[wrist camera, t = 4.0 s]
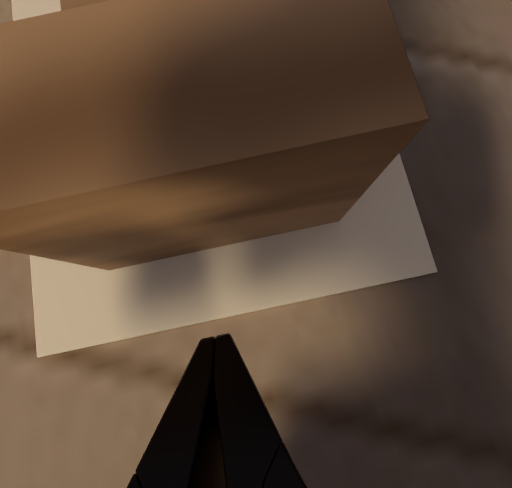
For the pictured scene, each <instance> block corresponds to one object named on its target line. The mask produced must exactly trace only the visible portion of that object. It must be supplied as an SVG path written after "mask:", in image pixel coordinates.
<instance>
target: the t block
mask: <svg viewBox="0 0 512 488" xmlns="http://www.w3.org/2000/svg"><path fill="white" fill-rule="evenodd" d="M60 5H61V11H58V12H53V13H48V14H44V15H39V16H34V17H30V18H25V19H20V20H16V21H11V22H6V23H2V24H0V249H2V250H7V251H12V252H18V253H23V254H28V255H33V256H38V257H43V258H48V259H53V260H58V261H63V262H68V263H73V264H79V265H84V266H89V267H94V268H99V269H104V270H113V269H118V268H123V267H127V266H132V265H137V264H141V263H146V262H151V261H155V260H160V259H165V258H169V257H174V256H179V255H183V254H188V253H193V252H197V251H202V250H207V249H211V248H216V247H221V246H225V245H230V244H235V243H239V242H244V241H249V240H253V239H258V238H263V237H267V236H272V235H277V234H281V233H286V232H291V231H295V230H300V229H305V228H309V227H314V226H319V225H324V224H328V223H333V222H338V221H340V220H341V219H342V218H343V216H344V215H345V214H346V213H347V212H348V211H349V210H350V208H351V207H352V206H353V205H354V204H355V203H356V202H357V200H358V199H359V198H360V197H361V196H362V195H363V194H364V193H365V191H366V190H367V189H368V188H369V187H370V186H371V185H372V183H373V182H374V181H375V180H376V179H377V178H378V177H379V175H380V174H381V173H382V172H383V171H384V170H385V169H386V167H387V166H388V165H389V164H390V163H391V162H392V161H393V159H394V158H395V157H396V156H397V155H398V154H399V153H400V151H401V150H402V149H403V148H404V147H405V146H406V145H407V143H408V142H409V141H410V140H411V139H412V138H413V137H414V135H415V134H416V133H417V132H418V131H419V130H420V129H421V127H422V126H423V125H424V124H425V123H426V122H427V121H428V119H429V117H428V114H427V111H426V108H425V105H424V103H423V100H422V97H421V94H420V91H419V88H418V85H417V83H416V80H415V77H414V74H413V71H412V68H411V65H410V63H409V60H408V57H407V54H406V51H405V48H404V45H403V43H402V40H401V37H400V34H399V31H398V28H397V25H396V23H395V20H394V17H393V14H392V11H391V8H390V5H389V3H388V0H60Z"/></svg>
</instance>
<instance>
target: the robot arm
mask: <svg viewBox="0 0 512 488" xmlns="http://www.w3.org/2000/svg"><path fill="white" fill-rule="evenodd" d="M127 488H307V486H306V485H305V483H304V481H303V479H302V478H301V476H300V474H299V472H298V470H297V468H296V466H295V464H294V462H293V461H292V459H291V457H290V455H289V453H288V451H287V448H286V446H285V444H284V443H283V442H282V439H281V437H280V435H279V433H278V430H277V428H276V426H275V424H274V422H273V420H272V418H271V416H270V414H269V412H268V410H267V408H266V406H265V404H264V402H263V400H262V398H261V396H260V394H259V392H258V390H257V388H256V385H255V383H254V381H253V379H252V377H251V375H250V373H249V371H248V369H247V367H246V365H245V363H244V361H243V359H242V357H241V355H240V353H239V351H238V349H237V347H236V345H235V343H234V341H233V338H232V336H231V335H230V334H229V333H227V334H222V335H218V336H216V338H215V337H208V338H203V339H201V340H200V342H199V344H198V346H197V348H196V350H195V352H194V354H193V356H192V358H191V360H190V362H189V364H188V366H187V368H186V370H185V372H184V374H183V376H182V378H181V380H180V382H179V384H178V386H177V388H176V390H175V392H174V394H173V396H172V398H171V400H170V402H169V404H168V406H167V408H166V410H165V412H164V414H163V416H162V418H161V420H160V422H159V424H158V426H157V428H156V430H155V432H154V434H153V436H152V438H151V440H150V442H149V444H148V446H147V448H146V450H145V452H144V454H143V456H142V458H141V461H140V463H139V465H138V467H137V469H136V474H134V475H133V476H132V478H131V480H130V482H129V484H128V486H127Z"/></svg>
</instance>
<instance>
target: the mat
mask: <svg viewBox="0 0 512 488" xmlns="http://www.w3.org/2000/svg"><path fill="white" fill-rule="evenodd" d="M58 11H61V5H60V0H12V14H13V21H16V20H20V19H25V18H30V17H34V16H39V15H44V14H48V13H53V12H58ZM30 265H31V279H32V293H33V307H34V321H35V334H36V348H37V358H38V357H43V356H47V355H52V354H57V353H62V352H66V351H71V350H76V349H80V348H85V347H90V346H94V345H99V344H104V343H108V342H113V341H118V340H122V339H127V338H132V337H136V336H141V335H146V334H150V333H155V332H160V331H164V330H169V329H174V328H178V327H183V326H188V325H192V324H197V323H202V322H206V321H211V320H216V319H220V318H225V317H230V316H234V315H239V314H244V313H249V312H253V311H258V310H263V309H267V308H272V307H277V306H281V305H286V304H291V303H295V302H300V301H305V300H309V299H314V298H319V297H323V296H328V295H333V294H337V293H342V292H347V291H351V290H356V289H361V288H365V287H370V286H375V285H379V284H384V283H389V282H393V281H398V280H403V279H407V278H412V277H417V276H421V275H426V274H431V273H436V272H438V271H437V268H436V265H435V262H434V259H433V256H432V253H431V250H430V247H429V243H428V240H427V237H426V234H425V231H424V228H423V225H422V222H421V219H420V216H419V212H418V209H417V206H416V203H415V200H414V197H413V194H412V191H411V188H410V185H409V181H408V178H407V175H406V172H405V169H404V166H403V163H402V160H401V157H400V153H399V154H398V155H397V156H396V157H395V158H394V159H393V161H392V162H391V163H390V164H389V165H388V166H387V167H386V169H385V170H384V171H383V172H382V173H381V174H380V175H379V177H378V178H377V179H376V180H375V181H374V182H373V183H372V185H371V186H370V187H369V188H368V189H367V190H366V191H365V193H364V194H363V195H362V196H361V197H360V198H359V199H358V200H357V202H356V203H355V204H354V205H353V206H352V207H351V208H350V210H349V211H348V212H347V213H346V214H345V215H344V216H343V218H342V219H341V220H340V221H338V222H333V223H328V224H324V225H319V226H314V227H309V228H305V229H300V230H295V231H291V232H286V233H281V234H277V235H272V236H267V237H263V238H258V239H253V240H249V241H244V242H239V243H235V244H230V245H225V246H221V247H216V248H211V249H207V250H202V251H197V252H193V253H188V254H183V255H179V256H174V257H169V258H165V259H160V260H155V261H151V262H146V263H141V264H137V265H132V266H127V267H123V268H118V269H113V270H104V269H99V268H94V267H89V266H84V265H79V264H73V263H68V262H63V261H58V260H53V259H48V258H43V257H38V256H33V255H30Z"/></svg>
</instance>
